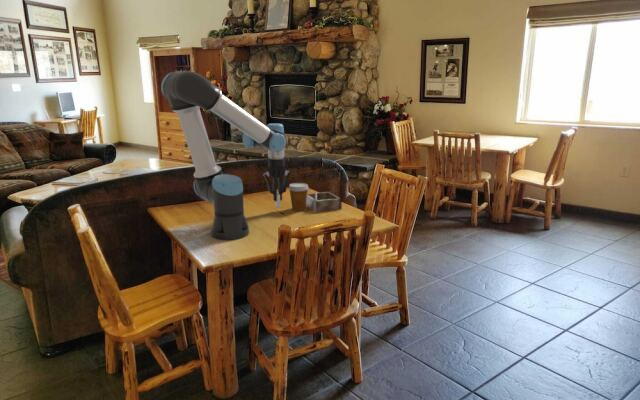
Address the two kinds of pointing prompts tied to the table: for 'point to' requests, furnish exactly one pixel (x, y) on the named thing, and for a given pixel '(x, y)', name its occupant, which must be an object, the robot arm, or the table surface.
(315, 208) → the gauge plunger
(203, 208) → the table surface
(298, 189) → the disposable coffee cup
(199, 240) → the table surface
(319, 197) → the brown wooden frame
